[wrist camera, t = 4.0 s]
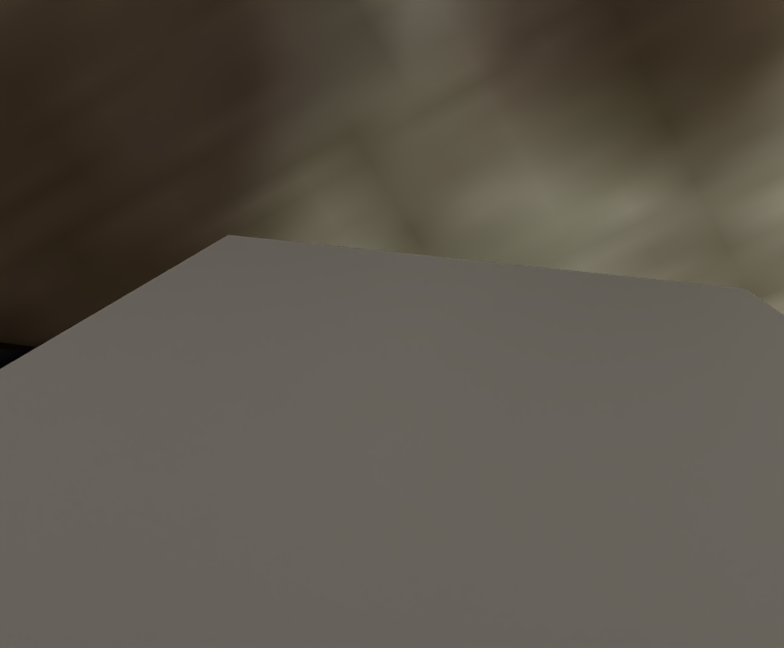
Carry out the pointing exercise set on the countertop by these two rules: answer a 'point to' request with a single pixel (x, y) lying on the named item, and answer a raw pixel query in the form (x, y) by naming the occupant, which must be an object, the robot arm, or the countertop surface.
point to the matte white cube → (396, 460)
